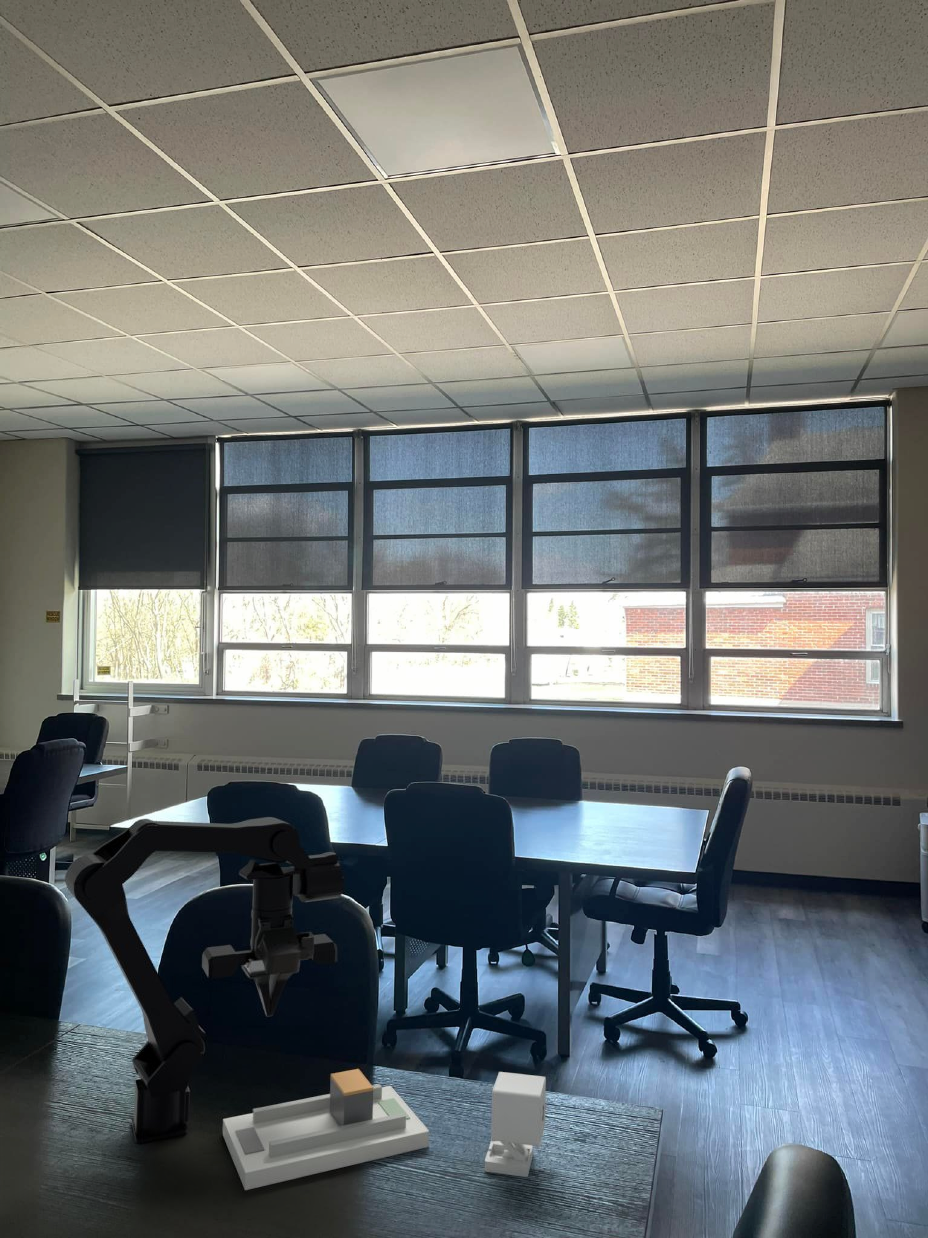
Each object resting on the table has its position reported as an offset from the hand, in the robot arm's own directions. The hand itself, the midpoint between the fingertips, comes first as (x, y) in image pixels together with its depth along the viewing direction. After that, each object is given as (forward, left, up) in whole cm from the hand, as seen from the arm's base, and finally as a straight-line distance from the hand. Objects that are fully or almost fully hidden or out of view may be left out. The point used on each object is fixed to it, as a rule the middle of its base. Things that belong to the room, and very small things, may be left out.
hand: (268, 1015), depth 128 cm
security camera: (+25, -29, -12) cm, 40 cm away
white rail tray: (+4, -14, -12) cm, 19 cm away
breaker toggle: (+8, -14, -10) cm, 19 cm away
